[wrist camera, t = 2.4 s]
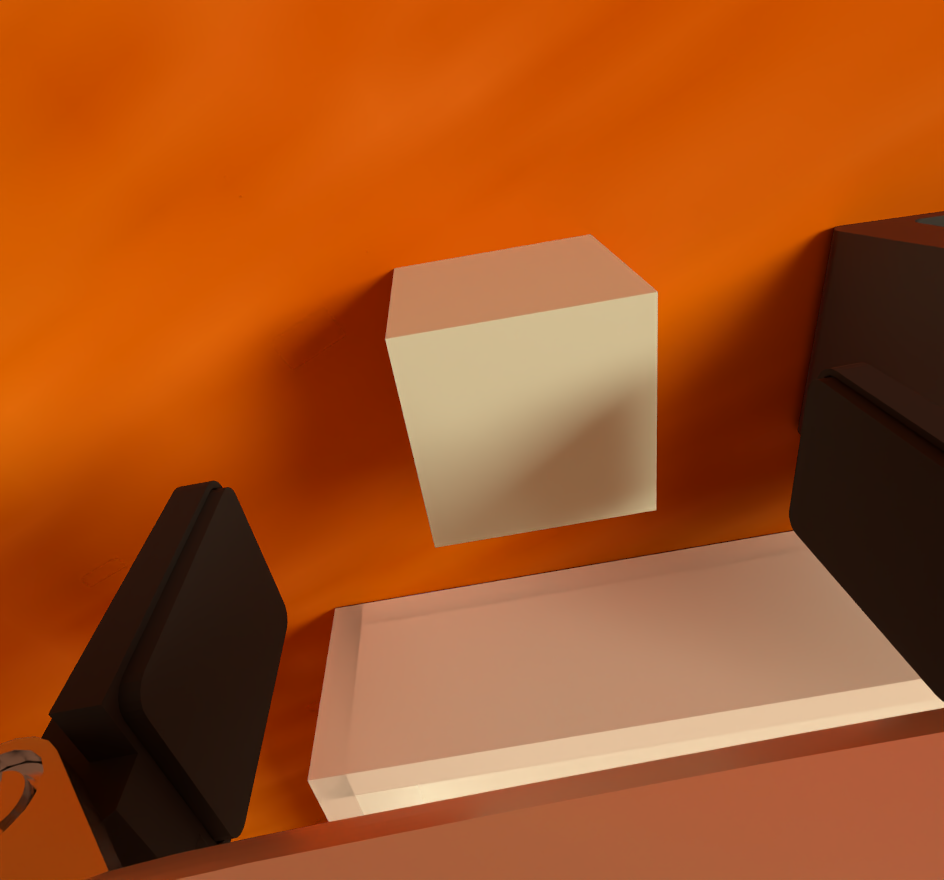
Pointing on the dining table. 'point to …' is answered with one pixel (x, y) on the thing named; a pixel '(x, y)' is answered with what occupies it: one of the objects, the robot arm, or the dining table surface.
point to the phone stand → (885, 303)
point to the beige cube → (527, 387)
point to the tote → (594, 673)
